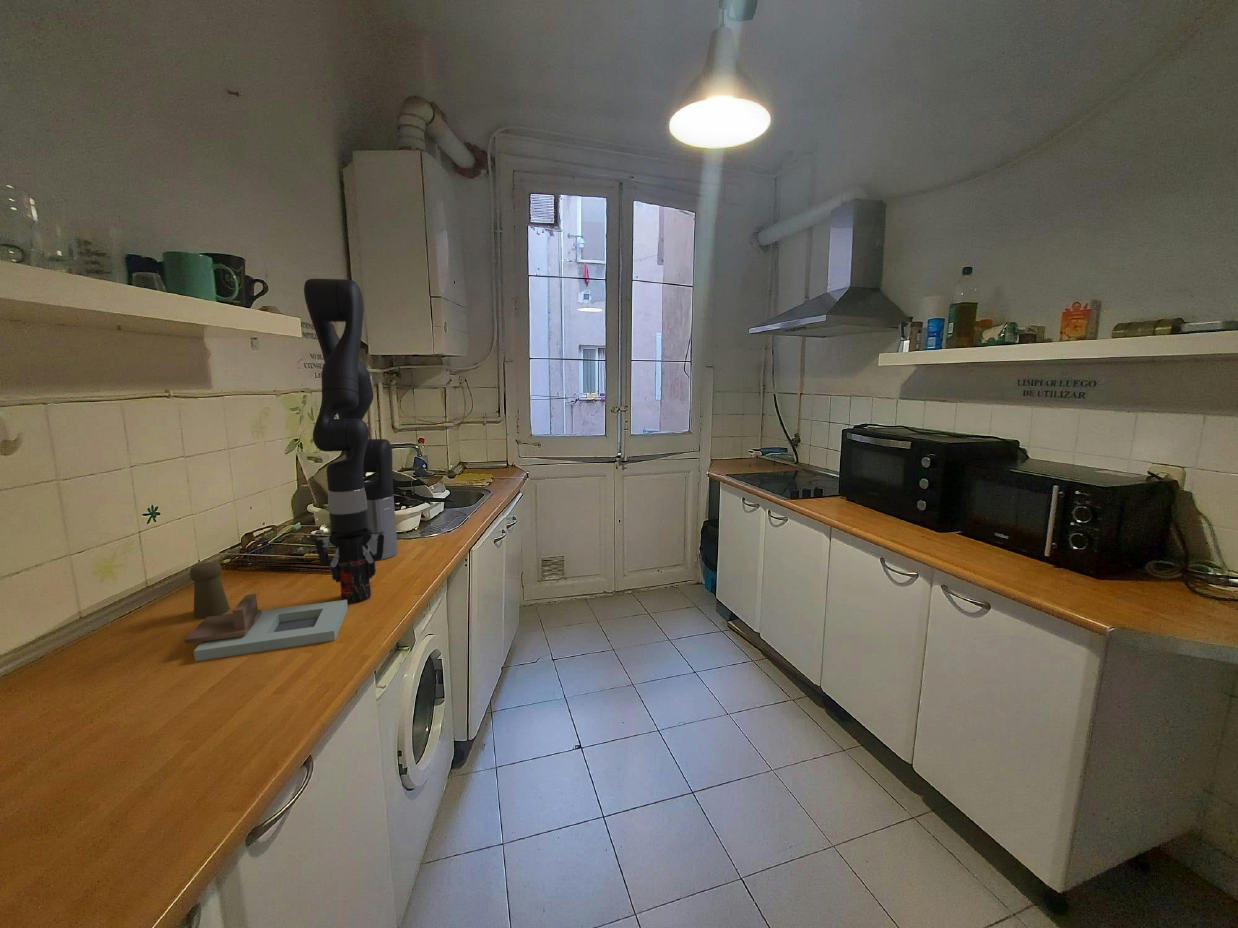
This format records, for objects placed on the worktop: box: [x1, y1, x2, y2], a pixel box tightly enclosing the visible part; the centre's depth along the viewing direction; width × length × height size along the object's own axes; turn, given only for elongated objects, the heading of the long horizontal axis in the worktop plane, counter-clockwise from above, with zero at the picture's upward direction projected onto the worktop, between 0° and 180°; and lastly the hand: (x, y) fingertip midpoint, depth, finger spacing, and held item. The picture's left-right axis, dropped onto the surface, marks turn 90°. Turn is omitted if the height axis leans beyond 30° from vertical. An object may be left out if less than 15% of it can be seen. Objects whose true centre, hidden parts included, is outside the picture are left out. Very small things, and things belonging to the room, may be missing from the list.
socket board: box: [193, 599, 349, 662], centre depth 97 cm, size 14×22×2 cm, turn 110°
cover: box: [184, 593, 262, 645], centre depth 93 cm, size 9×9×5 cm
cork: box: [189, 561, 231, 620], centre depth 103 cm, size 6×6×11 cm
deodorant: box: [336, 536, 372, 604], centre depth 111 cm, size 6×6×15 cm
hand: (354, 578), depth 111 cm, fingers closed on deodorant, 6 cm apart
